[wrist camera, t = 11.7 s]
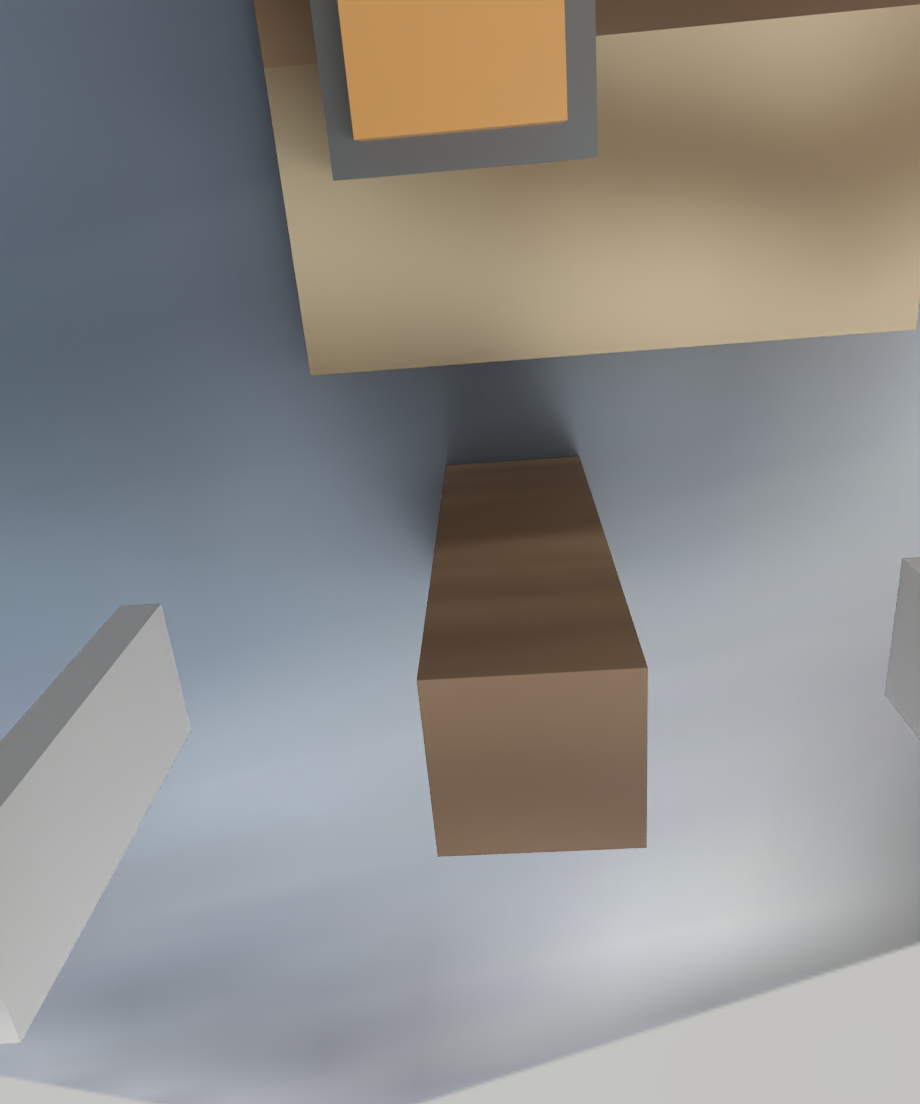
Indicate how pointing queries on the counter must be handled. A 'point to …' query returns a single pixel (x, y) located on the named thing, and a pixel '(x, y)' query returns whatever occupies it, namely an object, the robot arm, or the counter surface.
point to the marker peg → (530, 669)
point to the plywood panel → (629, 197)
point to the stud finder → (455, 83)
